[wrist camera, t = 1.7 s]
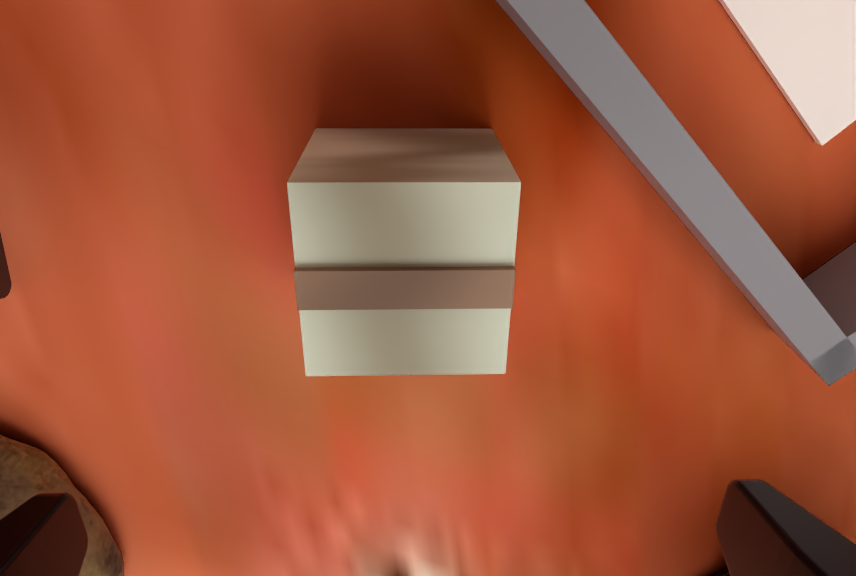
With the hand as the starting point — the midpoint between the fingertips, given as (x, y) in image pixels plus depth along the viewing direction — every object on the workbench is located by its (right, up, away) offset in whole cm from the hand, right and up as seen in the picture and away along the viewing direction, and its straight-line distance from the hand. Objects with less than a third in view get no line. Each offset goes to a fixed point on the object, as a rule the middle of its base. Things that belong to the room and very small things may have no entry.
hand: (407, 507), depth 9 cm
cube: (0, +5, +10) cm, 12 cm away
